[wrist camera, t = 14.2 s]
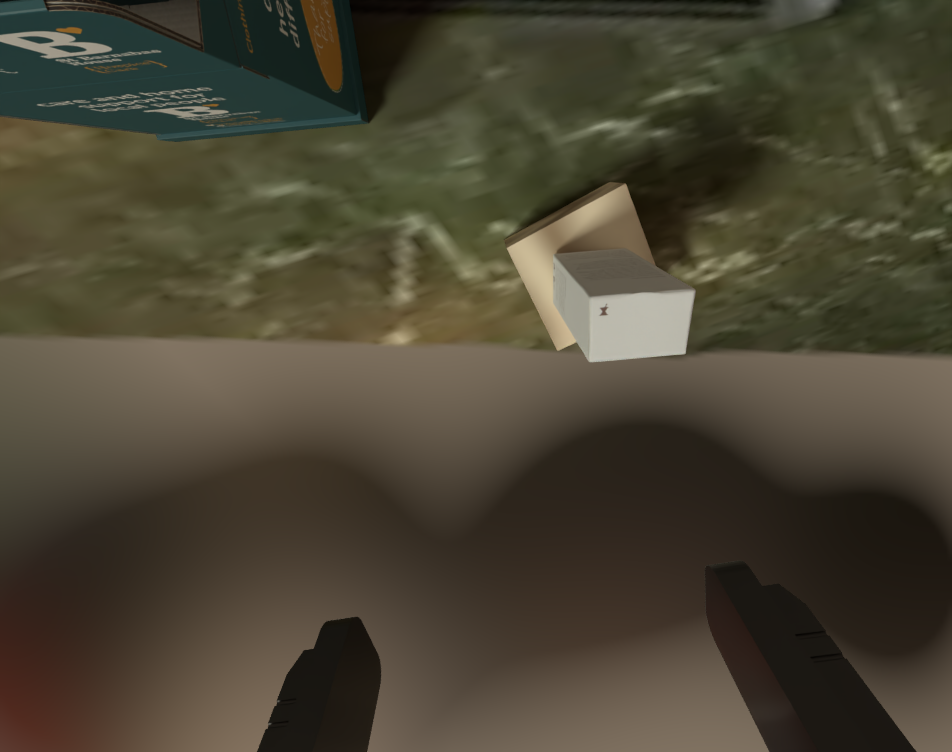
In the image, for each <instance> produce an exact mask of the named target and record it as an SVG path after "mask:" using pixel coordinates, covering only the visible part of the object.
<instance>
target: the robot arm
mask: <svg viewBox="0 0 952 752" xmlns="http://www.w3.org/2000/svg"><path fill="white" fill-rule="evenodd" d="M705 600H706V601H705V603H706V616H707V620H708V624H709V627H710V631H711V633H712V636H713V638H714V641H715V643H716V645H717V647H718V649H719V651H720V653H721V655H722V657H723V659H724V661H725V663H726V665H727V667H728V669H729V671H730V673H731V675H732V677H733V679H734V681H735V683H736V685H737V687H738V689H739V691H740V693H741V695H742V697H743V699H744V701H745V703H746V705H747V707H748V709H749V711H750V713H751V715H752V718H753V720H754V721H755V724H756V725H757V727H758V729H759V732H760V734H761V736H762V737H763V739H764V742H765V744H766V746H767V748H768V750H769V752H916V750H915V749H914V748H913V747H912V745H911V744H910V743H909V741H908V740H907V739H906V737H905V736H904V735H903V733H902V732H901V731H900V730H899V728H898V727H897V726H896V724H895V723H894V721H893V720H892V719H891V718H890V716H889V715H888V713H887V712H886V711H885V709H884V708H883V707H882V705H881V704H880V703H879V701H878V700H877V699H876V697H875V696H874V695H873V693H872V692H871V691H870V689H869V688H868V687H867V685H866V684H865V683H864V681H863V680H862V679H861V677H860V676H859V675H858V674H857V672H856V671H855V669H854V668H853V667H852V665H851V664H850V663H849V661H848V660H847V659H845V658H844V657H843V655H842V652H841V651H840V650H839V648H838V647H837V645H836V644H835V643H834V641H833V640H832V639H831V637H830V636H828V635H827V634H826V632H825V629H824V628H823V627H822V625H821V624H820V623H819V621H818V620H817V619H816V617H815V616H814V615H813V613H812V612H811V611H810V609H809V608H808V607H807V605H806V604H805V603H803V602H802V601H801V600H799V599H798V598H797V597H796V596H794V595H793V594H792V593H790V592H789V591H788V590H786V589H785V588H784V587H782V586H781V585H780V584H773V585H767V586H762V585H761V584H760V583H759V581H758V579H757V578H756V576H755V575H754V573H753V572H752V571H751V569H750V568H749V566H748V565H747V564H746V563H745V562H743V561H734V562H728V563H721V564H714V565H708V566H706V567H705ZM380 683H381V665H380V659H379V656H378V653H377V651H376V649H375V647H374V646H373V643H372V641H371V639H370V637H369V635H368V633H367V631H366V629H365V627H364V625H363V623H362V621H361V619H360V618H359V617H351V618H345V619H339V620H331V621H327V622H325V623H324V625H323V626H322V628H321V630H320V633H319V636H318V639H317V641H316V644H315V647H314V649H310V650H304V651H303V653H302V654H301V656H300V657H299V658H298V660H297V661H296V663H295V664H294V666H293V667H292V668H291V669H290V671H289V672H288V674H287V676H286V678H285V681H284V684H283V686H282V689H281V691H280V694H279V696H278V699H277V706H275V707H274V709H273V712H272V714H271V717H270V720H269V722H268V729H266V730H265V733H264V735H263V738H262V740H261V743H260V745H259V748H258V751H257V752H367V749H368V745H369V739H370V734H371V729H372V724H373V719H374V714H375V709H376V704H377V699H378V694H379V689H380Z"/></svg>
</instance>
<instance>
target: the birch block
mask: <svg viewBox="0 0 952 752" xmlns="http://www.w3.org/2000/svg"><path fill="white" fill-rule="evenodd" d="M504 241H505V244H506V247H507V249H508V251H509V254H510V256H511V258H512V260H513V262H514V264H515V266H516V268H517V270H518V272H519V274H520V276H521V278H522V280H523V282H524V284H525V286H526V288H527V290H528V292H529V294H530V296H531V298H532V300H533V302H534V304H535V306H536V308H537V310H538V312H539V314H540V316H541V318H542V320H543V322H544V324H545V326H546V328H547V330H548V332H549V334H550V336H551V339H552V341H553V343H554V345H555V347H556V349H557V351H559V350H561V349H563V348H565V347H567V346H569V345H571V344H573V343H575V342H577V341H576V340H575V338H574V336H573V335H572V333H571V331H570V330H569V328H568V327H567V325H566V323H565V322H564V320H563V318H562V317H561V315H560V313H559V312H558V310H557V308H556V307H555V305H554V304H553V254H560V253H572V252H583V251H596V250H608V249H621V248H626V249H628V250H630V251H631V252H633V253H635V254H636V255H638V256H640V257H641V258H643V259H645V260H647V261H648V262H650V263H652V264H653V265H655V262H654V259H653V257H652V254H651V251H650V248H649V246H648V243H647V240H646V237H645V235H644V232H643V229H642V227H641V224H640V221H639V218H638V216H637V213H636V210H635V207H634V205H633V202H632V199H631V196H630V194H629V191H628V188H627V185H626V183H615V182H609V183H607V184H605V185H603V186H601V187H600V188H598V189H596V190H594V191H592V192H590V193H589V194H587V195H585V196H583V197H581V198H579V199H578V200H576V201H574V202H572V203H570V204H568V205H567V206H565V207H563V208H561V209H559V210H558V211H556V212H554V213H552V214H550V215H548V216H547V217H545V218H543V219H541V220H539V221H537V222H536V223H534V224H532V225H530V226H528V227H526V228H525V229H523V230H521V231H519V232H517V233H516V234H514V235H512V236H510V237H508V238H506V239H505V240H504ZM655 266H656V265H655Z"/></svg>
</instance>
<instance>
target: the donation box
mask: <svg viewBox="0 0 952 752" xmlns="http://www.w3.org/2000/svg"><path fill="white" fill-rule="evenodd" d="M0 117H7V118H16V119H25V120H33V121H42V122H51V123H60V124H68V125H77V126H86V127H94V128H103V129H112V130H121V131H129V132H138V133H147V134H155V135H156V136H157V140H164V141H174V142H179V141H189V140H199V139H210V138H220V137H231V136H241V135H252V134H262V133H272V132H283V131H293V130H304V129H314V128H324V127H335V126H345V125H356V124H366V123H369V122H368V116H367V109H366V103H365V97H364V91H363V84H362V78H361V72H360V65H359V59H358V53H357V47H356V40H355V34H354V28H353V21H352V15H351V9H350V3H349V0H0Z"/></svg>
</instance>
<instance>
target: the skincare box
mask: <svg viewBox="0 0 952 752" xmlns="http://www.w3.org/2000/svg"><path fill="white" fill-rule="evenodd" d="M695 292H696V290H695V289H694V288H692V287H691V286H689V285H687V284H685V283H684V282H682V281H680V280H679V279H677V278H675V277H674V276H672V275H670V274H668V273H667V272H665V271H663V270H662V269H660V268H658V267H657V266H655V265H653V264H652V263H650V262H648V261H647V260H645V259H643V258H641V257H640V256H638V255H636V254H635V253H633V252H631V251H630V250H628V249H626V248H621V249H608V250H596V251H583V252H572V253H560V254H553V304H554V305H555V307H556V308H557V310H558V312H559V313H560V315H561V317H562V318H563V320H564V322H565V323H566V325H567V327H568V328H569V330H570V331H571V333H572V335H573V336H574V338H575V340H576V341H577V343H578V345H579V346H580V348H581V350H582V351H583V353H584V354H585V356H586V358H587V359H588V361H589V362H599V361H611V360H623V359H634V358H644V357H655V356H667V355H679V354H685V353H686V346H687V340H688V334H689V328H690V322H691V316H692V310H693V304H694V298H695Z"/></svg>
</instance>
